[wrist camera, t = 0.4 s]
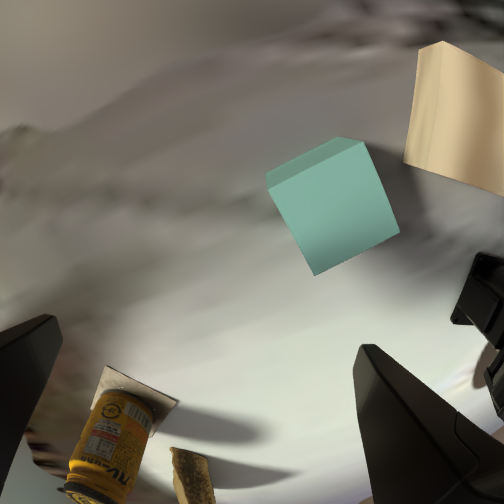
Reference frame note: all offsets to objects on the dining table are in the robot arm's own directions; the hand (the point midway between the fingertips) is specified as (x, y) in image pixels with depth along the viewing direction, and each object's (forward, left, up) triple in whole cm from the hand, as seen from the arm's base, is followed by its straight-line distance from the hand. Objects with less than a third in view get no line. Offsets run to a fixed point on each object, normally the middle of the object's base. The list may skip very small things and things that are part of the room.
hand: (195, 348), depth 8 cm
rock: (+1, +32, -13) cm, 35 cm away
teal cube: (-5, -3, -13) cm, 14 cm away
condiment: (+8, +20, -13) cm, 25 cm away
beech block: (-14, -10, -13) cm, 22 cm away
